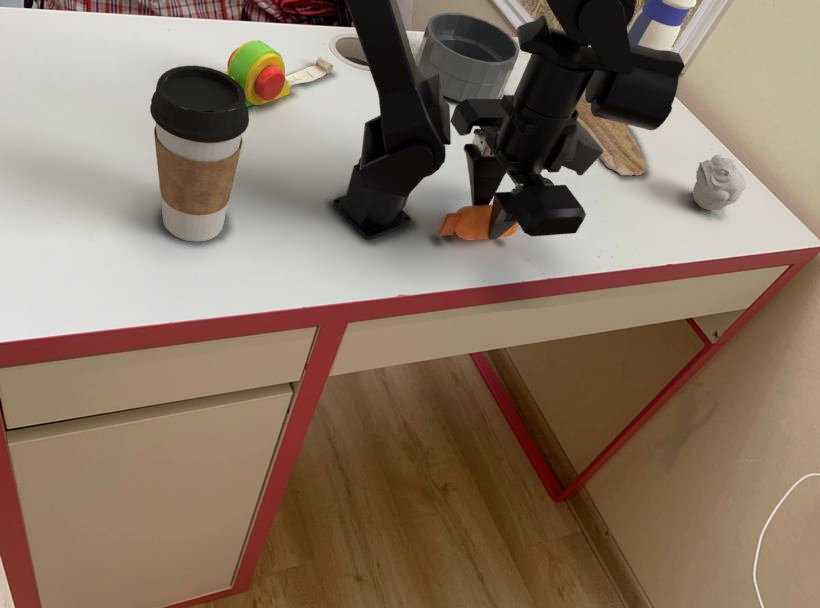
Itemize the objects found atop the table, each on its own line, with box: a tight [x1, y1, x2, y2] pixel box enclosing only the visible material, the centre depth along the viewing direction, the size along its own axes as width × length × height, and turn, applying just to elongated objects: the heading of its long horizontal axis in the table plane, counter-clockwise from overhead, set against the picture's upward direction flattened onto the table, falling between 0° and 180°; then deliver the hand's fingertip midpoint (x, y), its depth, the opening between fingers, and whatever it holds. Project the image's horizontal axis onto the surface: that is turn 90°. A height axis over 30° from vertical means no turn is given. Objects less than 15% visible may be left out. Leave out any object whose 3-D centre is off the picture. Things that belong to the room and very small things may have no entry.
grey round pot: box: [415, 12, 520, 103], centre depth 98 cm, size 13×13×6 cm
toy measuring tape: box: [222, 40, 334, 107], centre depth 86 cm, size 6×19×7 cm, turn 138°
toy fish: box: [437, 204, 520, 241], centre depth 77 cm, size 9×4×4 cm, turn 109°
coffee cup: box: [149, 65, 250, 243], centre depth 65 cm, size 8×8×15 cm
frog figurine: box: [692, 154, 747, 211], centre depth 91 cm, size 6×7×7 cm
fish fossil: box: [576, 89, 647, 177], centre depth 102 cm, size 26×10×1 cm, turn 18°
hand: (484, 226), depth 78 cm, fingers closed on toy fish, 3 cm apart
